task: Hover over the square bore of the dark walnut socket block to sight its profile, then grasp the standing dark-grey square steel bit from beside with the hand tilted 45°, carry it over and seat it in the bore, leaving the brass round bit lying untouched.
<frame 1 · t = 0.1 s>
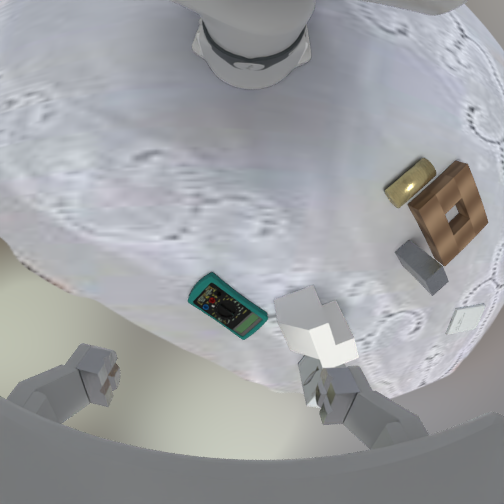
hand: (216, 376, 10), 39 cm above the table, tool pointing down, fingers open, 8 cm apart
socket block: (446, 210, 48), on the table
round bit: (405, 180, 46), on the table
supplement box: (318, 356, 61), on the table
digital multimeter: (228, 303, 55), on the table
corner bracket: (309, 309, 56), on the table
square bit: (406, 252, 51), on the table
external hard drive: (464, 316, 60), on the table
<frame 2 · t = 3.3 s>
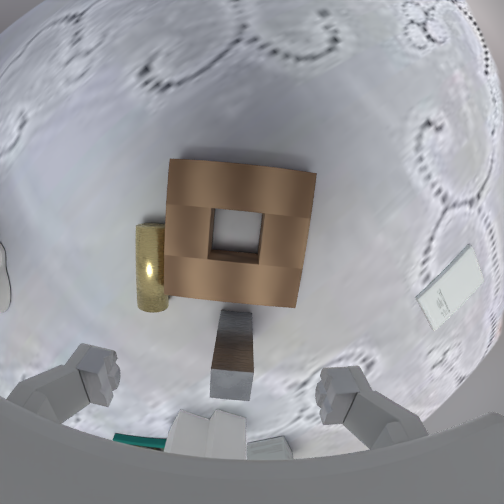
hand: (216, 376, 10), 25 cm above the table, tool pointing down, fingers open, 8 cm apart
socket block: (236, 228, 34), on the table
round bit: (142, 263, 34), point 1 cm above the table, tilted 57°
supplement box: (270, 447, 46), on the table
digital multimeter: (150, 444, 46), on the table
corner bracket: (205, 425, 44), on the table
square bit: (235, 324, 37), on the table
external hard drive: (448, 286, 37), on the table
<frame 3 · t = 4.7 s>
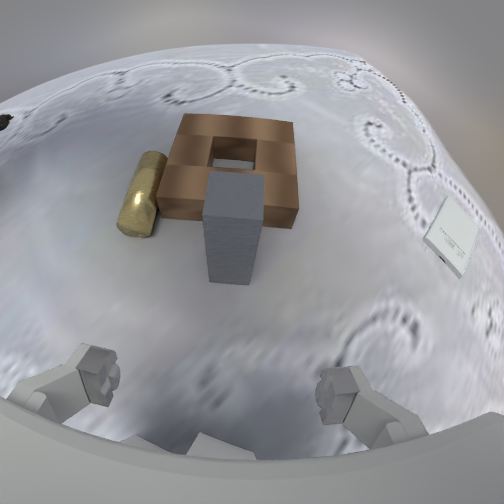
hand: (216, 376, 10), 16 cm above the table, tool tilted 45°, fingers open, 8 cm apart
socket block: (231, 174, 36), on the table
round bit: (135, 198, 33), on the table, tilted 49°
corner bracket: (178, 477, 20), on the table
square bit: (230, 265, 30), on the table
external hard drive: (450, 237, 36), on the table
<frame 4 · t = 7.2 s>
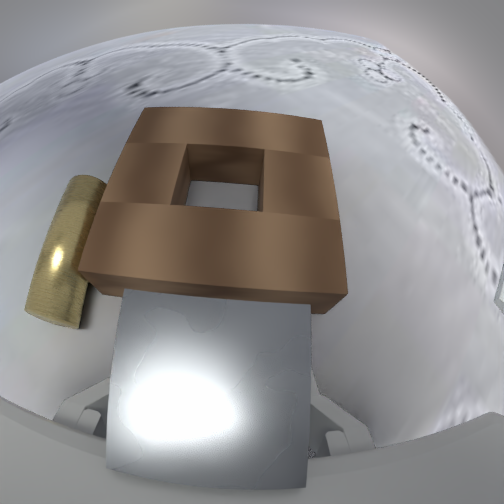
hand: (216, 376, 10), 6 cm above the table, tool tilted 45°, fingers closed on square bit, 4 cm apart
socket block: (220, 209, 21), on the table
round bit: (64, 257, 18), on the table, tilted 42°
square bit: (219, 391, 16), on the table, touching gripper
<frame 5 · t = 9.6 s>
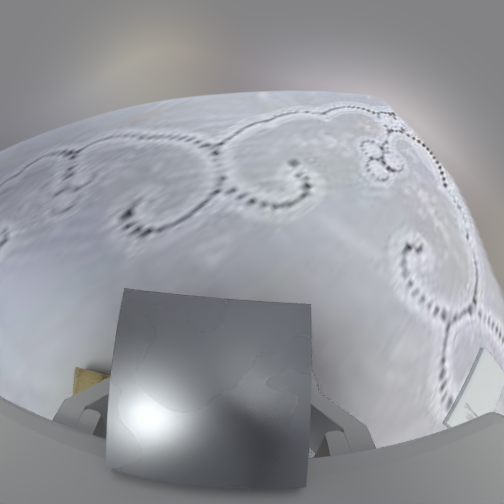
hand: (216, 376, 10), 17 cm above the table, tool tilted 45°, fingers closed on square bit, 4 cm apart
round bit: (105, 420, 22), on the table, tilted 28°
square bit: (219, 391, 16), point 11 cm above the table, touching gripper
external hard drive: (473, 400, 26), on the table
when the fingers open (8 cm above the table, at t = 12.0 s): square bit drops 2 cm, resting in socket block.
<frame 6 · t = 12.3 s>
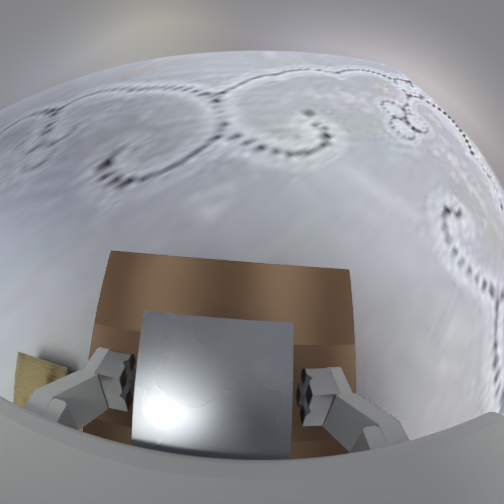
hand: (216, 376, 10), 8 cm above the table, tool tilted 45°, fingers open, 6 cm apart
socket block: (220, 390, 17), on the table
round bit: (60, 429, 14), on the table, tilted 29°
square bit: (219, 390, 17), resting in socket block
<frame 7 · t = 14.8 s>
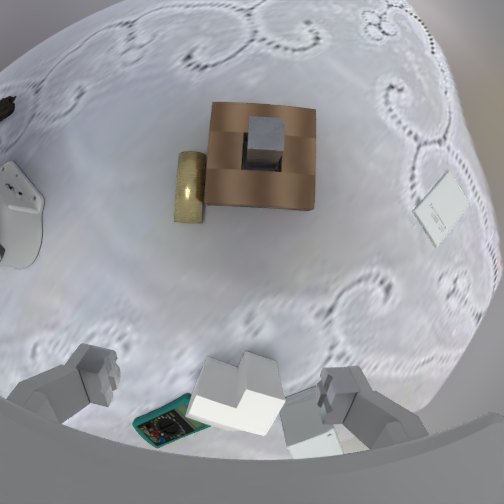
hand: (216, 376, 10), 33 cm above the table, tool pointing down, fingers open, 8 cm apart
socket block: (260, 158, 42), on the table
round bit: (182, 189, 41), on the table, tilted 45°
supplement box: (302, 406, 45), on the table
digital multimeter: (172, 418, 45), on the table
corner bracket: (232, 377, 45), on the table
square bit: (260, 158, 42), resting in socket block
external hard drive: (439, 208, 44), on the table
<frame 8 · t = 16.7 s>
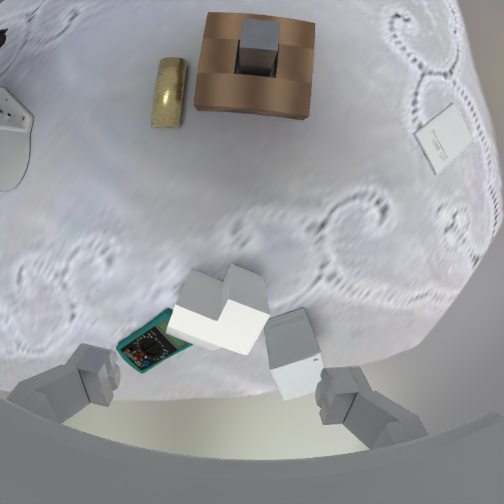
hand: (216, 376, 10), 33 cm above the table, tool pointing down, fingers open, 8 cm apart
socket block: (255, 67, 35), on the table
round bit: (173, 96, 36), on the table
supplement box: (289, 329, 48), on the table
digital multimeter: (156, 338, 48), on the table
corner bracket: (217, 293, 46), on the table
square bit: (255, 67, 35), resting in socket block
external hard drive: (442, 137, 39), on the table
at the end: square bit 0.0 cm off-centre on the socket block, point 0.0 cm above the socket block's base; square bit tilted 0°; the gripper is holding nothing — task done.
